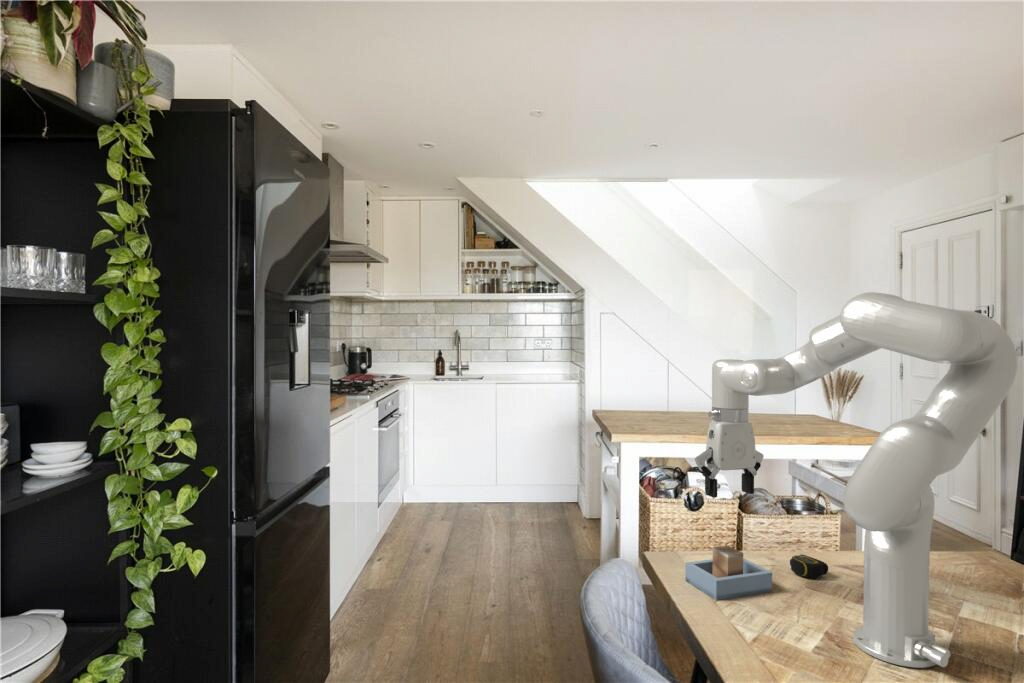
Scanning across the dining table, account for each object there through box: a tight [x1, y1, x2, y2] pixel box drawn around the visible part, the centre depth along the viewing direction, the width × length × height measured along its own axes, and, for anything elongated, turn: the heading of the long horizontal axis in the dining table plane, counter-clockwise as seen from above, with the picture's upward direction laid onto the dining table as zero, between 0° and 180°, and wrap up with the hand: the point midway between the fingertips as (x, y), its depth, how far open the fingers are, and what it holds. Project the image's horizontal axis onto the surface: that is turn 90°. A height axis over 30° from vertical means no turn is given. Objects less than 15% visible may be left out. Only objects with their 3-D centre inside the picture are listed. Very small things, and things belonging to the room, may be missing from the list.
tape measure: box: [789, 554, 829, 579], centre depth 135 cm, size 7×7×4 cm
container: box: [685, 557, 773, 601], centre depth 128 cm, size 10×14×4 cm
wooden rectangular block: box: [712, 545, 744, 578], centre depth 128 cm, size 5×4×7 cm
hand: (729, 494), depth 128 cm, fingers open, 9 cm apart
